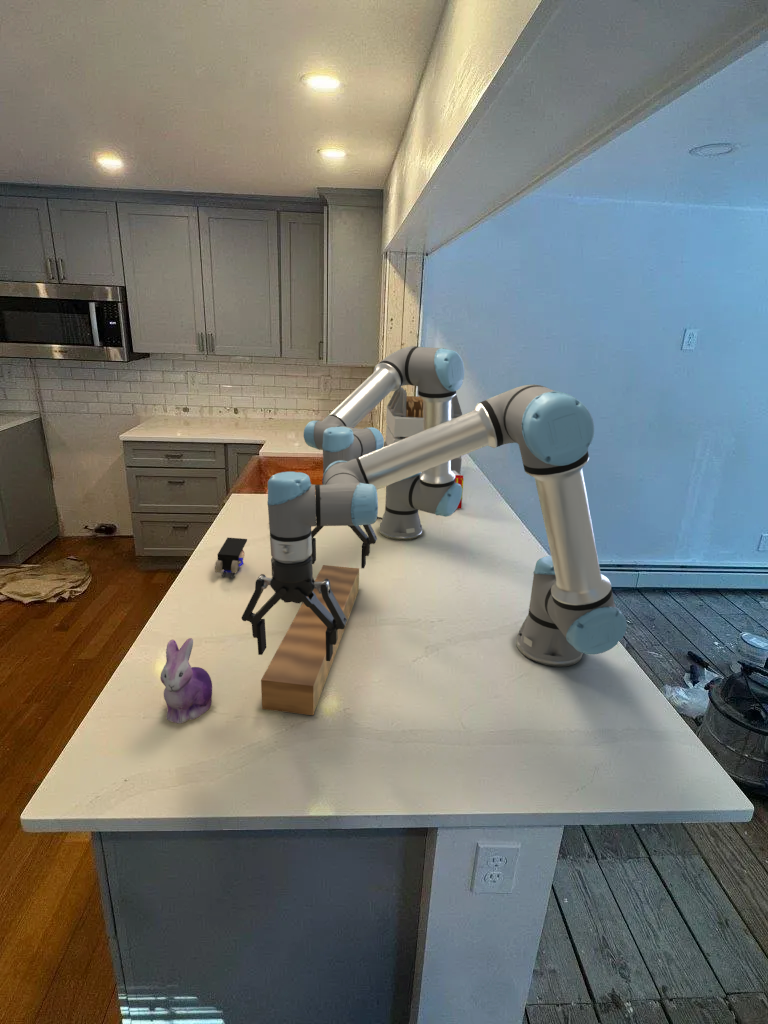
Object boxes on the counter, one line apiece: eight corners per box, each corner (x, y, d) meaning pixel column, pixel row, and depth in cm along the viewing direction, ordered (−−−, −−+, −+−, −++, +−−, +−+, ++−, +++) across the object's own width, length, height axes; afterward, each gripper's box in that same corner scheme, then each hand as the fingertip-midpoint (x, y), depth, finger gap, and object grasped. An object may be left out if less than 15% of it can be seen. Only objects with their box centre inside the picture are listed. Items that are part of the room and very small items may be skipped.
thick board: (322, 586, 160) (323, 564, 158) (358, 590, 159) (359, 568, 157) (262, 709, 111) (260, 679, 108) (313, 715, 110) (313, 686, 107)
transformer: (382, 463, 289) (386, 382, 275) (445, 464, 293) (451, 384, 279) (390, 482, 257) (394, 392, 243) (460, 483, 261) (468, 394, 247)
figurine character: (238, 584, 162) (249, 557, 175) (236, 562, 158) (247, 536, 172) (215, 584, 161) (227, 556, 175) (212, 561, 158) (225, 535, 171)
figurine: (167, 732, 103) (160, 663, 98) (160, 699, 112) (153, 633, 107) (220, 718, 108) (215, 650, 103) (209, 687, 116) (204, 623, 111)
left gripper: (286, 490, 142) (289, 566, 149) (384, 497, 139) (382, 574, 147) (294, 481, 149) (296, 554, 156) (388, 487, 146) (386, 561, 154)
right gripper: (218, 559, 102) (227, 659, 110) (354, 569, 100) (354, 671, 107) (234, 543, 109) (241, 638, 117) (361, 552, 107) (361, 648, 114)
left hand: (338, 564), depth 152 cm, fingers open, 13 cm apart
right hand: (295, 654), depth 112 cm, fingers open, 13 cm apart
